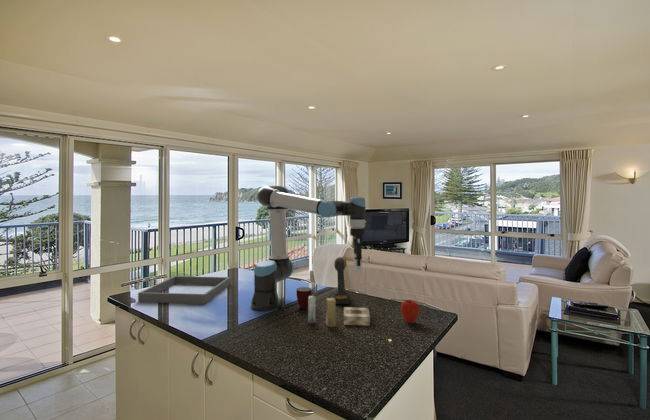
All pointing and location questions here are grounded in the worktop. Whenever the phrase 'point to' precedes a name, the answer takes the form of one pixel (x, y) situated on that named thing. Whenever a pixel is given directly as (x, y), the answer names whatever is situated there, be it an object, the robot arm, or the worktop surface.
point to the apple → (409, 310)
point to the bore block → (356, 316)
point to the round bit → (311, 309)
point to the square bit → (330, 312)
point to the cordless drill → (341, 282)
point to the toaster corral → (155, 296)
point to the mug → (303, 296)
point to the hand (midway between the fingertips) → (357, 269)
